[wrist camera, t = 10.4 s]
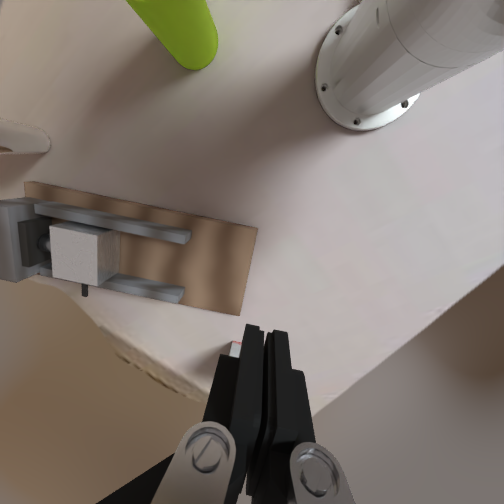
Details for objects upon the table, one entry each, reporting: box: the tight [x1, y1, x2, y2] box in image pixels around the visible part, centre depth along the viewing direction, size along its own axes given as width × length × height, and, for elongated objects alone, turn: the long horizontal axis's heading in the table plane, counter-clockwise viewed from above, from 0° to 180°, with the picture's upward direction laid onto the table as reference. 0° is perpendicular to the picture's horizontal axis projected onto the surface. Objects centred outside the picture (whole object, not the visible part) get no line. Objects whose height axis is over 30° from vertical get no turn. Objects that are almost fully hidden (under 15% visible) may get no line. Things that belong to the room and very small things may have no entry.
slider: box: [37, 221, 120, 297], centre depth 35 cm, size 9×10×5 cm
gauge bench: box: [0, 181, 258, 316], centre depth 35 cm, size 33×14×8 cm, turn 79°
